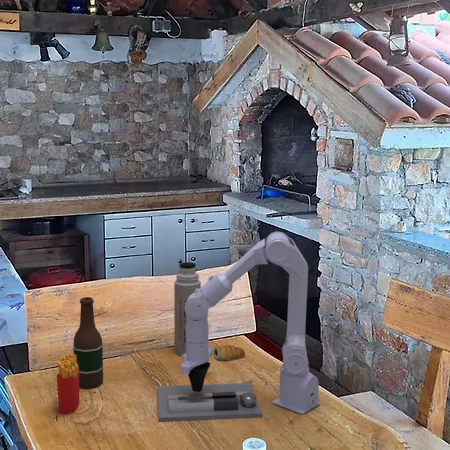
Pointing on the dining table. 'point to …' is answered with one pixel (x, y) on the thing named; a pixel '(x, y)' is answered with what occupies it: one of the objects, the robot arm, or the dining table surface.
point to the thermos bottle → (183, 302)
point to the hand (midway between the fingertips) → (197, 390)
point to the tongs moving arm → (219, 397)
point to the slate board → (204, 415)
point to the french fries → (68, 384)
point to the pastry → (228, 352)
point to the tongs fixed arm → (203, 405)
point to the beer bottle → (88, 348)
